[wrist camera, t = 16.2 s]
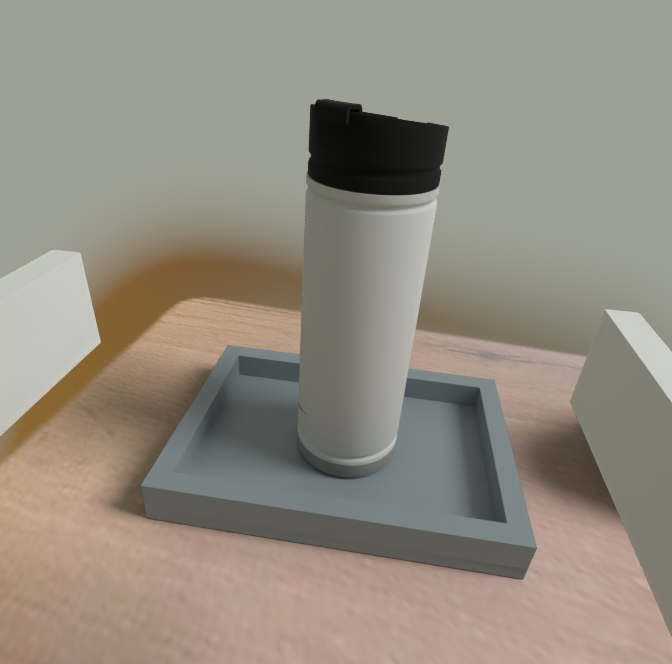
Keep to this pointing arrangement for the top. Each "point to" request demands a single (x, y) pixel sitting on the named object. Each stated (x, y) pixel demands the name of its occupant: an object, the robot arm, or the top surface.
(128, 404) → the top surface
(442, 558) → the tray
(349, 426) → the travel mug
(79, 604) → the top surface
